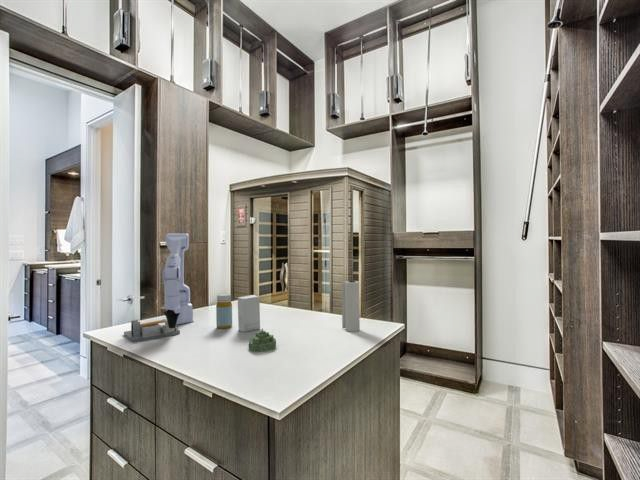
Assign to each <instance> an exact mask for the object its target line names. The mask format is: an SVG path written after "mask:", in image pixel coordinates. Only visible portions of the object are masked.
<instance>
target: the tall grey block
mask: <svg viewBox="0 0 640 480" xmlns="http://www.w3.org/2000/svg"><path fill="white" fill-rule="evenodd" d="M341 316H342V317H341V322H342V324H341V325H342V326H341V327H342V329H345V331H346V332H351V333H352V332H353V333H355V332H360V330H361V329H360V328H361V326H360V321H361V320H360V282H359V281H358V280H344V281H343V280H342V281H341Z"/></svg>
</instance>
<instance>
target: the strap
mask: <svg viewBox="0 0 640 480" xmlns="http://www.w3.org/2000/svg"><path fill="white" fill-rule="evenodd" d="M162 323H164V324H165V322H164V321H163V319H159V320H155V321H150V322H149V321H147V322H143V323H142V322H140V327H141V326H147V325H152V324H162Z"/></svg>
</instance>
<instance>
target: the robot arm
mask: <svg viewBox="0 0 640 480" xmlns="http://www.w3.org/2000/svg"><path fill="white" fill-rule="evenodd" d="M189 242H190V235H189V233H187V232H186V233H169V232H168V233H166V235H165V245H166V247H167V249H168V251H169V255H167V257H166V261H165V268H162V281H163V287H164V289H163V290H164V295H163V296H164V297H163V298H164V304H163V306H161V309H162V310H165V311H163V314H164V315H165V317H166V318H165V319H167V321H168V325H169V328H170V329H171V328H175V327H177V325H181V324H188V323H193V322H194V316H193V315H194V307H193V304H192V303H191V290H190V289H191V288H190V287H189V286H188V285H187V284H185V282H184V281H185V274H184V273H185V272H184V271H185V264H184V263H185V262H184V259H185V258H184V257H185V255H184V254H185V252H186V251H188V250H189V247H190V245H189V244H190V243H189Z"/></svg>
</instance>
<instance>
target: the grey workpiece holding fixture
mask: <svg viewBox="0 0 640 480" xmlns="http://www.w3.org/2000/svg"><path fill="white" fill-rule="evenodd" d="M140 324H141V321H139V320H138V319H134V320H131V321H130V330H126V331H123V335H124V336H125V338H127V339H128V340H129V341H130V342H131V343H138V342H144V341H148V340H154V339H159V338H160V339H161V338H165V337H171V336H174V335H176V336H177V335H180V334H181V330H179V327H178V326H176V327H175V331H174V332H169V333H167V329H165V324H162V325H161V324H160V323H158V324H152V325H147V326H141V327H140Z"/></svg>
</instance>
